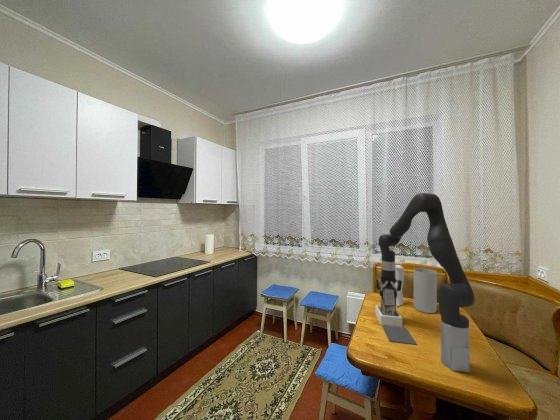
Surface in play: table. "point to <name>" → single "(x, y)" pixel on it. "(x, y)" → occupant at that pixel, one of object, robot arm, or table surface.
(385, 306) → the coffee box
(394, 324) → the sleeve box
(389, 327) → the rubber mat
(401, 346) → the table surface
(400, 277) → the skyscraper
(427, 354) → the table surface
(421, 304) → the cylinder vase
